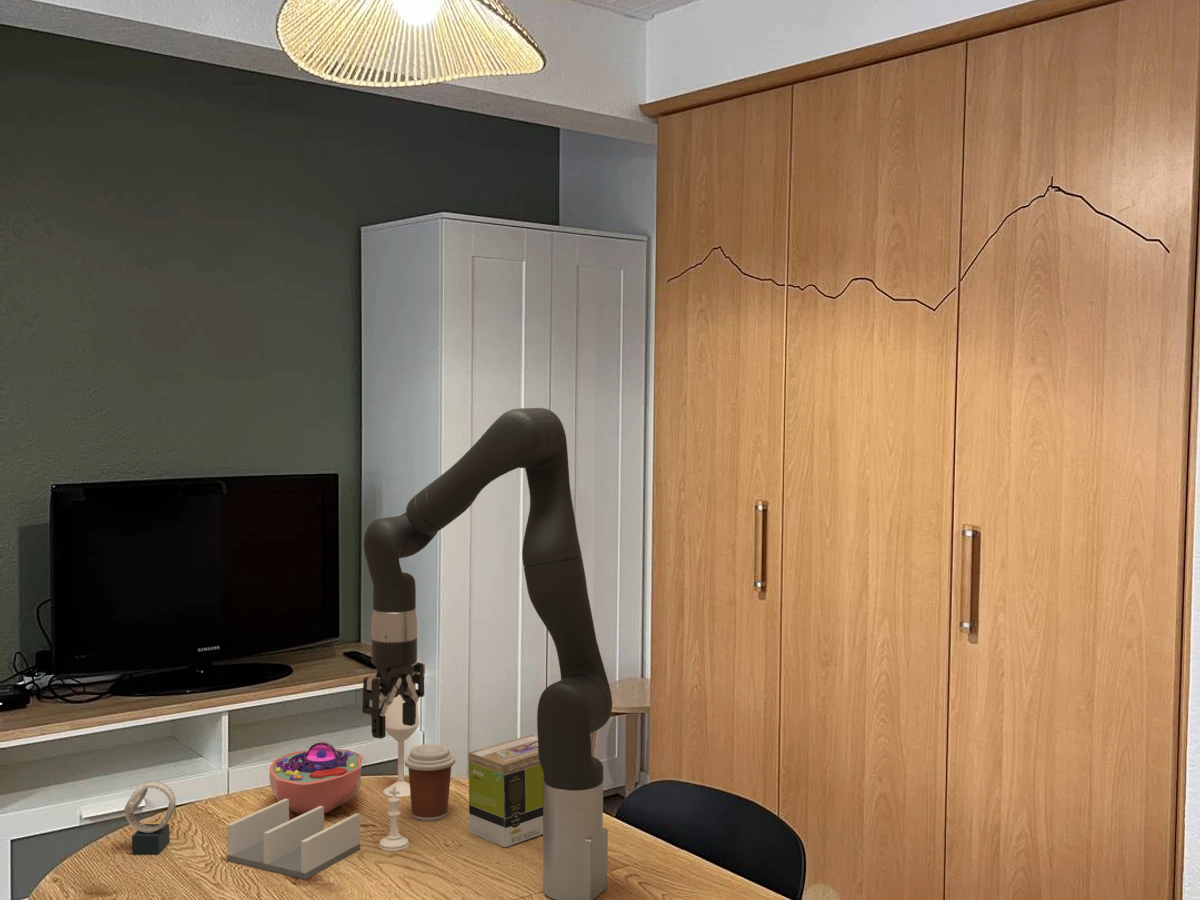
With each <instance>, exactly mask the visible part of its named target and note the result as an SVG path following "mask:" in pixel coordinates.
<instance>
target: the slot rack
mask: <svg viewBox="0 0 1200 900" xmlns="http://www.w3.org/2000/svg"><path fill="white" fill-rule="evenodd" d="M226 829H227V832H226V833H227V834H226V837H227V840H226V841H227V844H226V845H227V846H226V847H227V853H226V854H227V857H226V858H227V862H232V863H235V864H239V865H244V866H247V867H252V868H256V869H261V870H264V871H267V872H268V871H269V872H272V873H277V874H280V875H281V874H282V875H285V876H288V877H293V878H296V879H297V878H298V879H301V880H307V879H309V878H310V877H312V876H314V875H316V874H318V873H320V872H321V871H323V870H325V869H327V868H329V867H330V866H332V865H334V864H336V863H338V862H340V861H341V860H343V859H345V858H347V857H348V856H350V855H353V854H355V853H357V852H358V851H360V850H361V814H360V813H359V812H358V813H354V814H352V815H350V816H348V817H346V818H344V819H342V820H340V821H338V822H337V823H335V824H333V825H330V826H328V827H327V828H325V813H324V806H319V807H317V808H315V809H312V810H310V811H308V812H306V813H304V814H300V815H298V816H296V817H294V818H291V819H290V809H289V799H283V800H281V801H279V800H278V801H277V802H275V803H272V804H270V805H268V806H266V807H264V808H261V809H259V810H257V811H255V812H252V813H250V814H247V815H246V816H243V817H242V818H239V819H237V820H234V821H232V822H230V823H228V824H227V827H226Z"/></svg>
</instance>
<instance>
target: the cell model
mask: <svg viewBox="0 0 1200 900" xmlns="http://www.w3.org/2000/svg"><path fill="white" fill-rule="evenodd" d="M362 758H363V756H362V754H360V753H358V752H356V751H353V750H349V749H341V748H340V749H338V748H337V749H336V748H335V746H333V745H332V744H330V743H329V742H325V741H319V742H316V743H313V744H312V745H311V746H310V747H309V748H308V750H301V751H293V752H290V753H287V754H285V755H283V756H281V757H278V758H276V759H274V760H273V761H272V763H270V765H269V775H268V776H269V784H270V787H271V791H272V793H273V795H274V796H275V798H276V799H277V801H278V802H279V801H281V800H283V799H289V811H291V812H294V813H297V814H300V815H302V814H304V813H306V812H308V811H310V810H312V809H315V808H317V807H319V806H324V814H327V813H329V812H331V811H333V810H334V809H336V808H338V807H341V806H342V805H344V804H346V803H348V802H349V801H350V800H351V799H352V798H353V797H354V796H355V795H356V793H357V792H359V790H360V788H361V784H362V778H361V777H362V776H361V775H362V769H363V767H362V766H363V765H362Z"/></svg>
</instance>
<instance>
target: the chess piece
mask: <svg viewBox="0 0 1200 900" xmlns="http://www.w3.org/2000/svg"><path fill="white" fill-rule="evenodd" d="M389 794H392V796H389V797H388V799H387V802H388V804H389V808H390V810H388V812H387V815H388V816H390V825H389V833H388V834H387V835H386V836H385V837H383V838H382V839H380V841H379V845H378V847H379V848H380V849H381V850H383V851H386V852H387V851H388V852H398V851H403V850H405V849H407V848H408V847H409V846H410V844H409V839H408V838H407V837H405V836H402V834H400V832H399V831H400V830H399V823H398V816H399V815H401V811H400V810H398V808H399V804H400V802H401V798H400V797H396V794H399V791H396V787H393V788H392V790H390V791H389Z"/></svg>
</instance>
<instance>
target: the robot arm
mask: <svg viewBox="0 0 1200 900" xmlns="http://www.w3.org/2000/svg"><path fill="white" fill-rule="evenodd" d="M517 469H524V470H525V474H526V475H525V476H526V479H527V484H528V491H529V510H528V511H529V512H528V518H527V522H526V527H525V531H524V536H523V541H522V549H521V550H522V552H521V556H522V565H523V571H524V577H525V581H526V582H525V584H526V588H527V593H528V597H529V599H530V602H531V604H532V606H533V608H534V610H535V612H536V613H537V615H538V616H539V618H540V620H541V621H542V623H543V625H544V626H545V628H546V629H547V631H548V633H549V634H550V636H551V638H552V640H553V643H554V646H555V650H556V653H557V659H558V665H559V671H560V680H557V681H555V682H553V683H552V684H550V685H548V686H547V687H545V688H544V689H543V691H542V693H541V695H540V697H539V700H538V704H537V711H536V727H537V730H536V731H537V737H538V755H539V761H540V765H541V767H542V769H543V774H544V781H543V834H542V877H541V879H542V892H543V894H544V895H546V896H547V897H548V898H551V899H553V900H595V899H596V898H597V897H598V896H600V895H601V894H602V893H603V892H605V890H607V889H608V849H609V847H608V845H609V844H608V843H609V839H608V838H609V836H608V835H609V829H608V828H606V827H603V826H604V825H603V823H604V821H603V820H604V819H603V818H604V809H603V808H604V766H603V763H602V761H601V760H600V759H598V758H596V757H594V756H593V754H592V733H594V732H596V731H598V730H600V729H601V728H603V727H604V726H605V725H606V724H607V723H608V722H609V720H610V717H611V715H612V710H613V699H612V697H613V696H612V691H611V687H610V683H609V680H608V675H607V673H606V669H605V667H604V662H603V659H602V655H601V652H600V648H599V644H598V641H597V634H596V629H595V625H594V620H593V614H592V613H593V612H592V609H591V603H590V599H589V592H588V587H587V586H588V585H587V576H586V572H585V565H584V560H583V555H582V551H581V546H580V541H579V536H578V530H577V523H576V517H575V510H574V505H573V499H572V492H571V484H570V470H569V469H570V468H569V456H568V444H567V435H566V431H565V427H564V425H563V423H562V421H561V419H560V418H559V416H558V415H557V414H556V413H555V412H554V411H552V410H550V409H547V408H544V407H529V408H528V407H525V408H524V407H523V408H513V409H510V410H507V411H505V412H504V413H502V414H501V415H500V416H499V417H498V418H497V419H496V420H495V421H494V422H493V423H492V424H491V425H490V426H489V427H488V428H487V429H486V431H485V432H484V433H483V434H482V435H481V437H480V438H479V439H477V441H476V442H475V443H474V444H473V445H472V446H471V448H469V449H468V450H467V452H465V454H463V456H461V457H460V459H459V460H458V461H456V462H455V463H454V464H453V465H452V466H450V467H449V468H448V469H447V470H446V471H445V472H444V473H442V474H441V475H440V476H439V477H437V478H436V479H435V480H433V481H432V482H431V483H429V484H428V485H426V486H425V487H424V488H423V489H422V490H420V491H419V492H418V493H417V494H415V495H414V496H412V498H410V500H409V501H408V503H407V505H406V509H405V512H404V513H402V514H401V515H397V516H390V517H382V518H377V519H375V520H373V521H372V522H371V523H369V525H368V527H367V528H366V531H365V532H364V537H363V551H364V555H365V559H366V563H367V568H368V571H369V575H370V579H371V583H372V586H373V591H372V618H371V663H372V665H374V666H375V667H376V672H375V676H373V677H371V676H370V677H369V676H364V678H363V682H362V683H363V684H362V685H363V687H362V705H361V706H362V709H361V712H362V714H365V715H366V714H367V715H369V716H370V717H371V718H370V719H371V735H372V738H376V739H380V740H381V739H384V738H385V737H386V736H387V735H386V733H387V731H386V716H384V715H385V713H386V710H387V708H388V705H390V704H391V703H392V702H393V699H394V698H395V697H397V696H398V695H401V697H402V699H403V701H405V702H404V703H403V715H402V722H403V724H404V725H408V726H412V725H415V719H416V703H417V704H418V702H419V698H423V697H424V696H425V673H424V671H425V670H424V669H425V668H424V667H425V666H424V663H423V662H419V661H418V619H417V610H416V608H417V607H416V604H417V603H416V602H417V601H416V599H417V595H416V594H417V591H416V580H415V578H414V576H413V575H412V574H411V573H408V572H404V571H402V567H401V564H400V559H403V558H408V557H411V556H414V555H416V554H417V553H419V552H420V551H422V550H423V549H425V547H427V546H428V544H429V543H431V541H432V540H433V539H434V538H435V536H437V534H438V532H439V531H441V530H442V529H444V528H445V527H446V526H448V525H449V524H450V523H452V522H454V521H455V520H456V519H457V518H459V517H460V516H461V515H462V514H463V513H465V512H466V511H467V510H468V509H469V508H470V507H471V506H472V505H473V503H474V502H475V500H476V499H477V497H478V495H479V494H480V493H481V492H482V491H483V489H484V488H485V487H487V486H488V485H489V484H490V483H492V482H493V481H494V480H496V479H498V478H500V477H501V476H502V477H503V475H505V474H509V472H512V471H513V470H517ZM416 684H417V687H416V688H415V685H416ZM370 701H371V705H370ZM380 704H381V705H380Z"/></svg>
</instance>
